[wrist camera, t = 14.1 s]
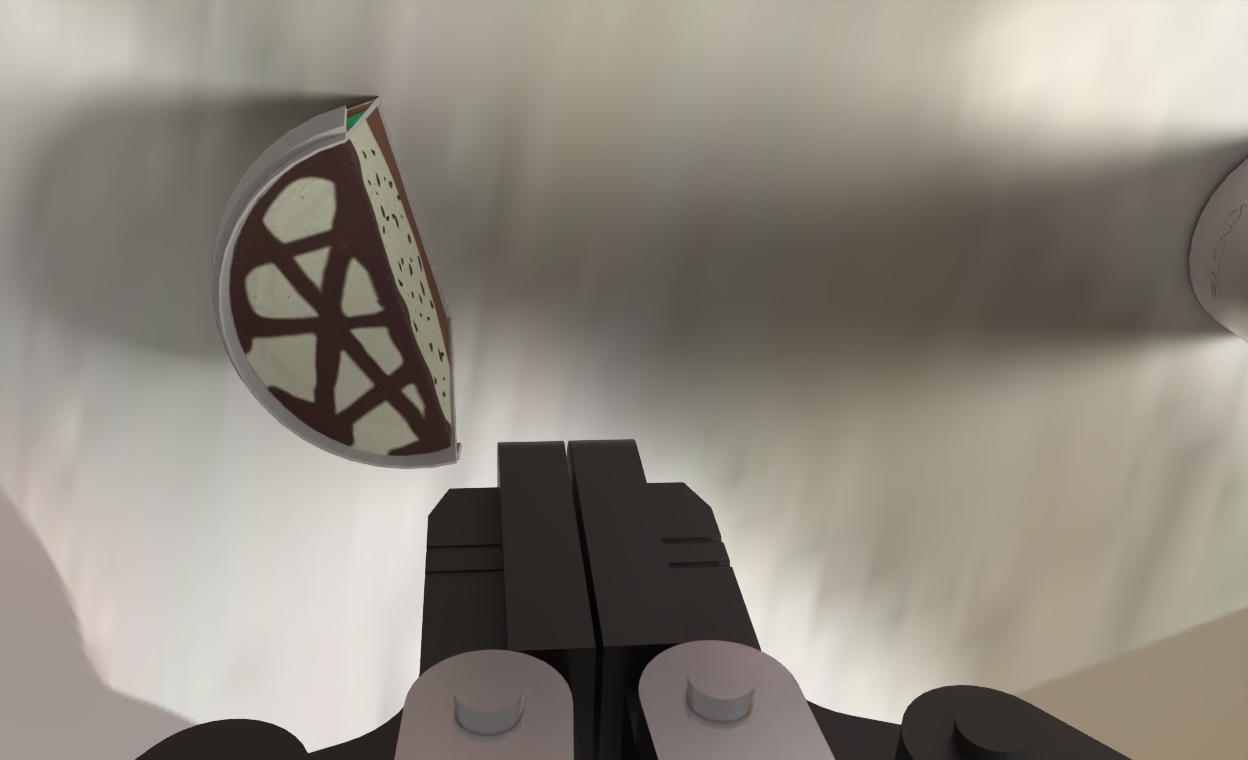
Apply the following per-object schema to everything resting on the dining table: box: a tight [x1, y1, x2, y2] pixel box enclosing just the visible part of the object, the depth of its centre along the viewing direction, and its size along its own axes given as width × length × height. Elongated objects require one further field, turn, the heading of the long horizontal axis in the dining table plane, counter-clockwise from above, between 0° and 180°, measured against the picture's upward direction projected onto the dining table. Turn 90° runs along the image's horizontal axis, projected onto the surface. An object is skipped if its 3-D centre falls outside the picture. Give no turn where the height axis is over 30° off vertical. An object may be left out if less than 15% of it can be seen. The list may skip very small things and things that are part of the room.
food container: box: [212, 96, 461, 469], centre depth 41 cm, size 12×6×10 cm, turn 13°
